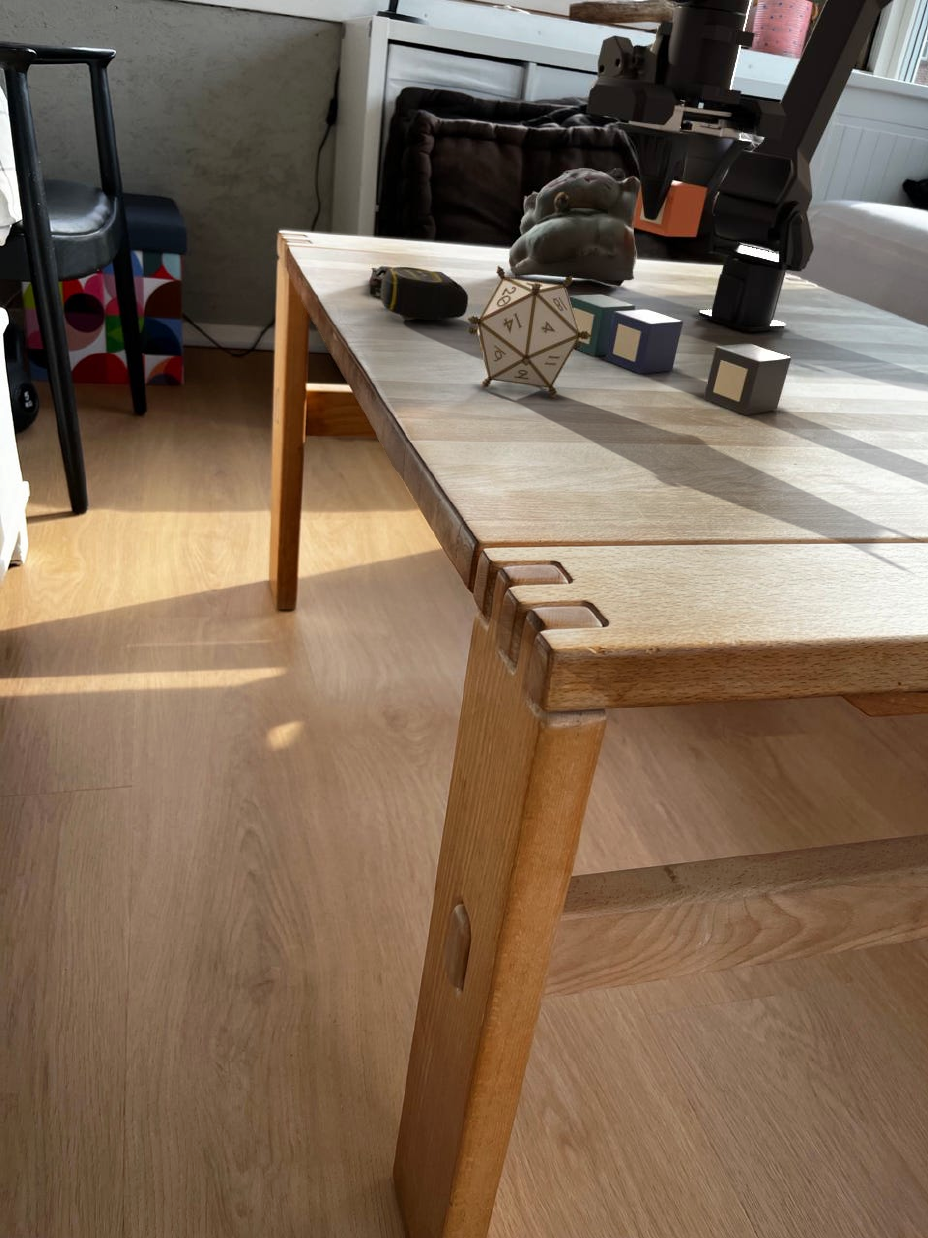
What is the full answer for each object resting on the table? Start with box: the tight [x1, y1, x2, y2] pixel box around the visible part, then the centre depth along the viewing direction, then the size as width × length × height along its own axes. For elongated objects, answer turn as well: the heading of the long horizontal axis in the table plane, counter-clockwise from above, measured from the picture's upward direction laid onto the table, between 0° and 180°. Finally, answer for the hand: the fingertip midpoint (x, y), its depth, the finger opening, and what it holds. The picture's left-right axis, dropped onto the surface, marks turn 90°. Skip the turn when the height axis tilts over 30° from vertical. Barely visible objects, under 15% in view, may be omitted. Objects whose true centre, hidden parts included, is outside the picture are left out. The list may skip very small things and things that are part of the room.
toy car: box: [368, 265, 395, 296], centre depth 97 cm, size 8×3×2 cm, turn 2°
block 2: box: [604, 308, 684, 375], centre depth 83 cm, size 4×4×4 cm
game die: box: [466, 265, 591, 399], centre depth 72 cm, size 9×8×10 cm
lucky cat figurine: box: [508, 167, 641, 287], centre depth 112 cm, size 15×12×14 cm
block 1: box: [568, 293, 636, 357], centre depth 87 cm, size 4×4×4 cm
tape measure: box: [380, 266, 469, 321], centre depth 88 cm, size 7×7×4 cm
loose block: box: [632, 179, 707, 238], centre depth 88 cm, size 4×4×4 cm
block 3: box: [703, 343, 792, 416], centre depth 77 cm, size 4×4×4 cm
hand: (666, 219), depth 88 cm, fingers closed on loose block, 4 cm apart
